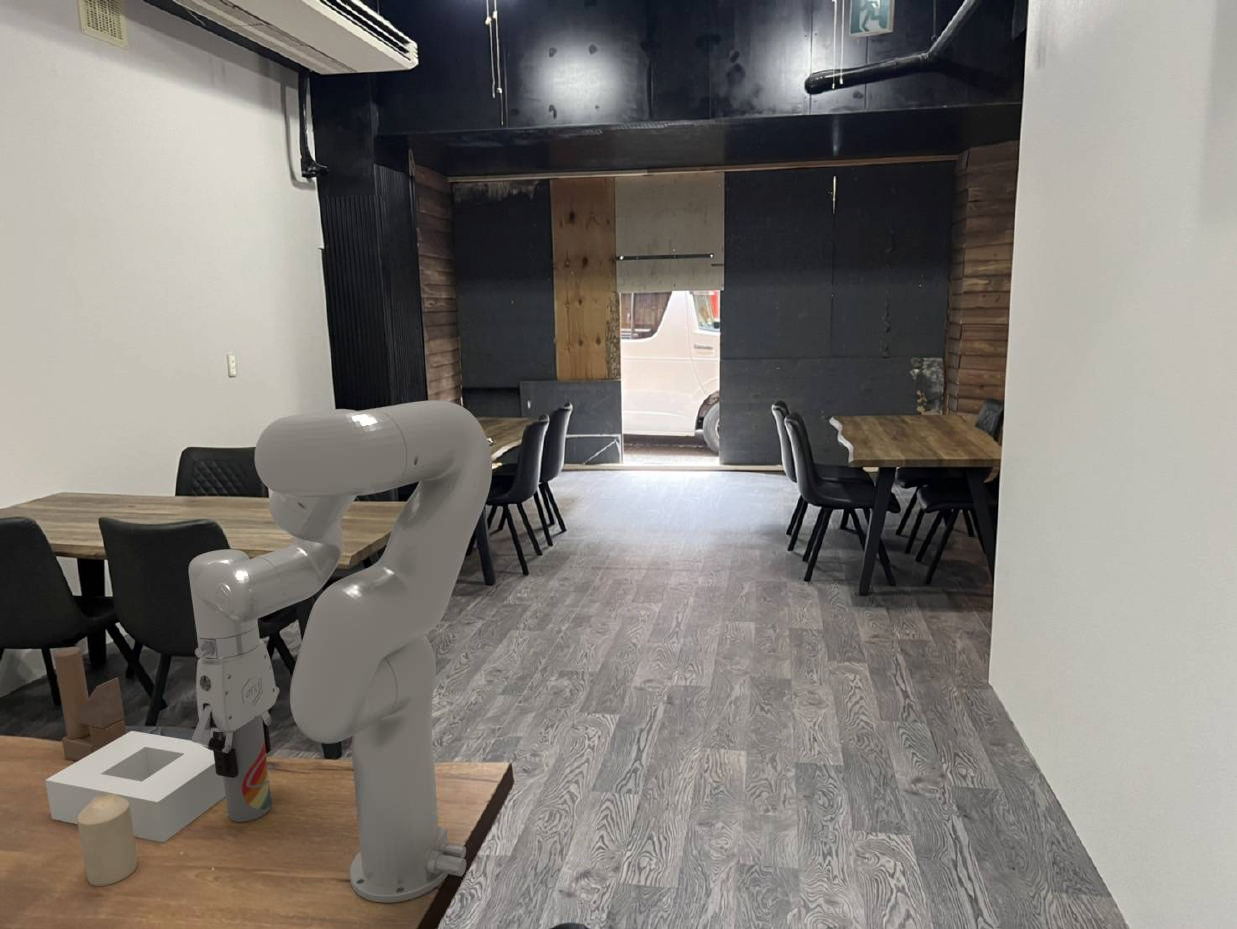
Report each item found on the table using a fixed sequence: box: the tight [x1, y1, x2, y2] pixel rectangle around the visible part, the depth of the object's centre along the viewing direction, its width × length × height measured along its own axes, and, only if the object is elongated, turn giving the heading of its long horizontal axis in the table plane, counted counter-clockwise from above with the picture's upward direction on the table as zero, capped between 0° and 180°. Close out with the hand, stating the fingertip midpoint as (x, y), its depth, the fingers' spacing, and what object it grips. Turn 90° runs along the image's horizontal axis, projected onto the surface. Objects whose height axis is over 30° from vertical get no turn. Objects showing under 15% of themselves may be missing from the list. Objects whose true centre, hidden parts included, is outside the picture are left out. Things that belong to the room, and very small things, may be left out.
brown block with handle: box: [53, 646, 127, 762], centre depth 128 cm, size 4×11×18 cm, turn 67°
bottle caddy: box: [45, 730, 226, 844], centre depth 117 cm, size 20×14×6 cm
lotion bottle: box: [219, 714, 272, 823], centre depth 113 cm, size 6×6×20 cm
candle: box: [77, 794, 139, 887], centre depth 102 cm, size 6×6×10 cm
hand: (244, 762), depth 113 cm, fingers closed on lotion bottle, 5 cm apart
